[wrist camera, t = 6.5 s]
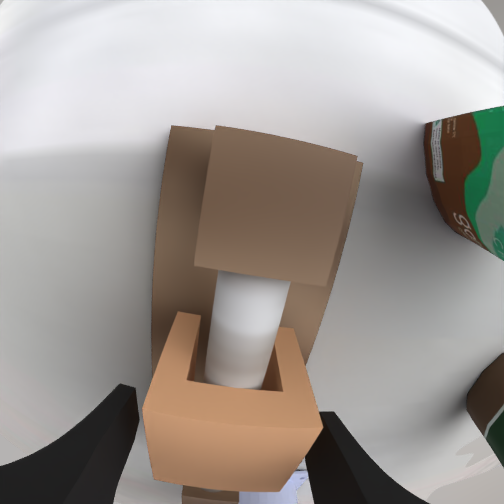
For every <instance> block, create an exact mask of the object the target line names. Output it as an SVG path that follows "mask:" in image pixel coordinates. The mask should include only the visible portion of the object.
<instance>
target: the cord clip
mask: <svg viewBox="0 0 504 504" xmlns="http://www.w3.org/2000/svg"><path fill="white" fill-rule="evenodd" d="M200 320H201V315H195V314H190V313H184V312H179V311H178V312H177V315H176V317H175V320H174V322H173V325H172V328H171V330H170V333H169V335H168V338H167V341H166V343H165V346H164V349H163V351H162V354H161V357H160V359H159V362H158V365H157V368H156V370H155V373H154V376H153V379H152V382H151V384H150V387H149V390H148V393H147V396H146V399H145V402H144V405H143V408H142V412H143V420H144V427H145V434H146V440H147V446H148V452H149V457H150V463H151V468H152V473H153V477H154V480H159V481H164V482H169V483H174V484H179V485H185V486H192V487H199V488H206V489H215V490H226V491H242V492H280V491H281V489H282V488H283V487H284V485H285V484H286V483H287V481H288V480H289V479H290V477H291V476H292V474H293V473H294V472H295V470H296V469H297V467H298V466H299V464H300V463H301V462H302V460H303V459H304V457H305V456H306V454H307V453H308V451H309V450H310V448H311V446H312V445H313V443H314V442H315V440H316V439H317V437H318V435H319V434H320V432H321V430H322V429H323V425H322V421H321V418H320V414H319V411H318V407H317V404H316V401H315V397H314V394H313V390H312V387H311V384H310V380H309V377H308V374H307V370H306V367H305V364H304V360H303V357H302V354H301V351H300V347H299V344H298V341H297V338H296V334H295V331H294V328H286V327H279V328H278V332H277V335H276V339H275V342H274V346H273V350H272V353H271V357H270V360H269V363H268V367H267V370H266V374H265V377H264V380H263V384H262V387H261V390H254V389H244V388H233V387H227V386H219V385H212V384H206V383H199V382H194V378H195V367H196V357H197V347H198V338H199V329H200Z"/></svg>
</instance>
